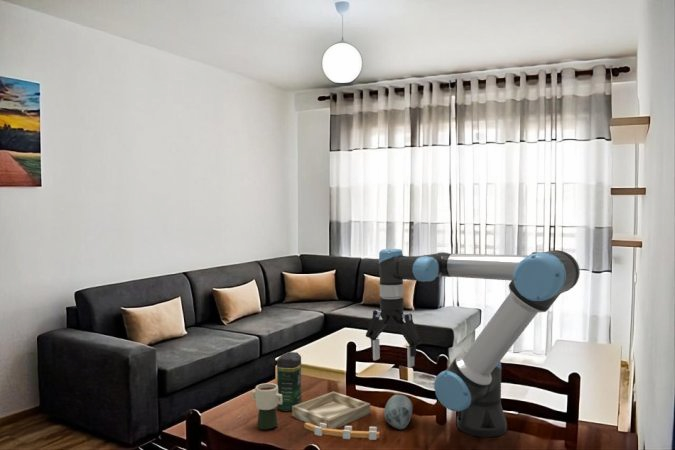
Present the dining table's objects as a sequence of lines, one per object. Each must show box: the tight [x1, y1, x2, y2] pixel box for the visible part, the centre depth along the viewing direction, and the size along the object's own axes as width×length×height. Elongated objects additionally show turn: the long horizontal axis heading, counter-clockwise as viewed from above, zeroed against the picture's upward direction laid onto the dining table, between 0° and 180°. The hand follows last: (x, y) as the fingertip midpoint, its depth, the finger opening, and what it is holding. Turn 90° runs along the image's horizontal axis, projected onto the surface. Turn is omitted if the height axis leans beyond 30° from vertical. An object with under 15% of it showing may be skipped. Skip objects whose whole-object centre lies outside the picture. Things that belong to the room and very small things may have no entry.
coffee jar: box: [276, 351, 303, 412], centre depth 186 cm, size 10×8×19 cm
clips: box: [313, 423, 378, 441], centre depth 163 cm, size 19×5×2 cm, turn 78°
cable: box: [303, 422, 380, 439], centre depth 164 cm, size 24×4×1 cm, turn 71°
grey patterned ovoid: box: [383, 394, 414, 430], centre depth 172 cm, size 14×10×10 cm
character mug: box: [251, 382, 283, 430], centre depth 169 cm, size 11×7×13 cm, turn 68°
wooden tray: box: [291, 390, 371, 430], centre depth 178 cm, size 17×19×4 cm
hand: (393, 362), depth 173 cm, fingers open, 13 cm apart
